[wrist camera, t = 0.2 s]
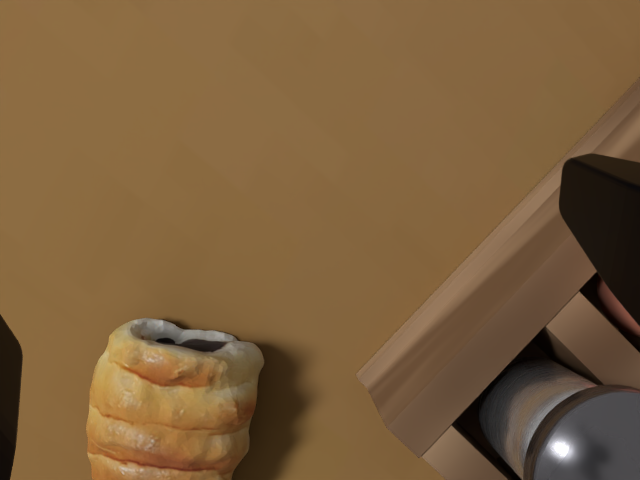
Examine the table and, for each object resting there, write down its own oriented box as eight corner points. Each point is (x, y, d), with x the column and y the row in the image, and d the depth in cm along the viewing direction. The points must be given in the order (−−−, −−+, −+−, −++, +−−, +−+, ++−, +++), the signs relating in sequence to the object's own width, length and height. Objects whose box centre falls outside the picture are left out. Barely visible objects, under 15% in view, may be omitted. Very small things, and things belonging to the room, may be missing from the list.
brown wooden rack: (812, 174, 25) (948, 165, 20) (496, 507, 25) (553, 584, 20) (682, 32, 25) (790, -15, 19) (355, 374, 24) (376, 418, 19)
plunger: (619, 404, 21) (748, 477, 15) (529, 500, 21) (623, 609, 15) (529, 315, 21) (626, 355, 15) (437, 412, 21) (498, 491, 15)
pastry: (232, 539, 25) (223, 599, 21) (79, 518, 24) (40, 576, 20) (268, 332, 24) (265, 355, 20) (113, 307, 24) (80, 326, 20)
